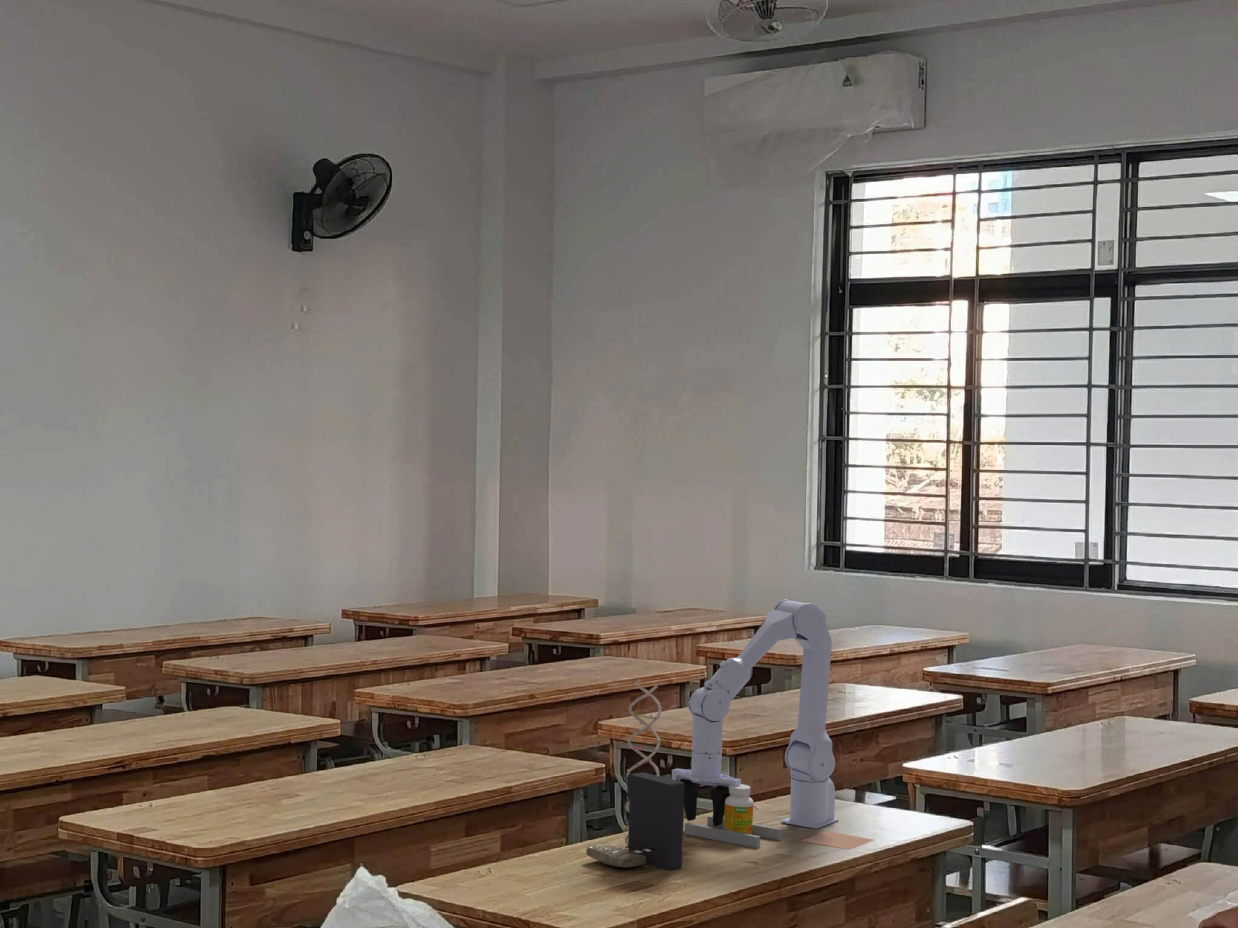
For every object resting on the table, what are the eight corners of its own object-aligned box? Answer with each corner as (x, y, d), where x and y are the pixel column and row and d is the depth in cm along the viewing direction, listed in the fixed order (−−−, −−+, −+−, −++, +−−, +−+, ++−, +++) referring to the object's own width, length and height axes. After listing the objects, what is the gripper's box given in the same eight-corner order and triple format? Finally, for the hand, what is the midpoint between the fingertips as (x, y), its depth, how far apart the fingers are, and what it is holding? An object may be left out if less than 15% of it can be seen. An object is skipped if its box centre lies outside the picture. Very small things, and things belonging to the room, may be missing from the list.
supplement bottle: (731, 841, 290) (734, 789, 290) (718, 834, 295) (720, 783, 294) (756, 840, 292) (759, 788, 292) (743, 832, 297) (745, 782, 297)
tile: (827, 832, 299) (827, 830, 299) (874, 841, 293) (874, 839, 293) (801, 842, 291) (801, 840, 291) (849, 851, 285) (849, 849, 285)
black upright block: (685, 867, 270) (687, 781, 270) (667, 871, 267) (669, 784, 267) (642, 854, 278) (645, 771, 278) (624, 858, 276) (627, 773, 275)
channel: (710, 825, 302) (710, 815, 302) (781, 839, 293) (782, 828, 293) (684, 833, 295) (684, 823, 295) (757, 848, 286) (757, 837, 286)
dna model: (665, 848, 283) (670, 683, 283) (642, 854, 279) (647, 687, 279) (638, 841, 288) (643, 679, 288) (615, 847, 283) (619, 682, 283)
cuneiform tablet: (631, 852, 264) (586, 838, 273) (630, 875, 264) (584, 859, 273) (656, 849, 268) (610, 834, 277) (655, 871, 268) (609, 856, 277)
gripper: (663, 748, 299) (661, 819, 299) (727, 759, 290) (725, 832, 290) (684, 744, 304) (681, 813, 304) (747, 754, 296) (745, 825, 296)
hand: (704, 822), depth 298 cm, fingers open, 5 cm apart
